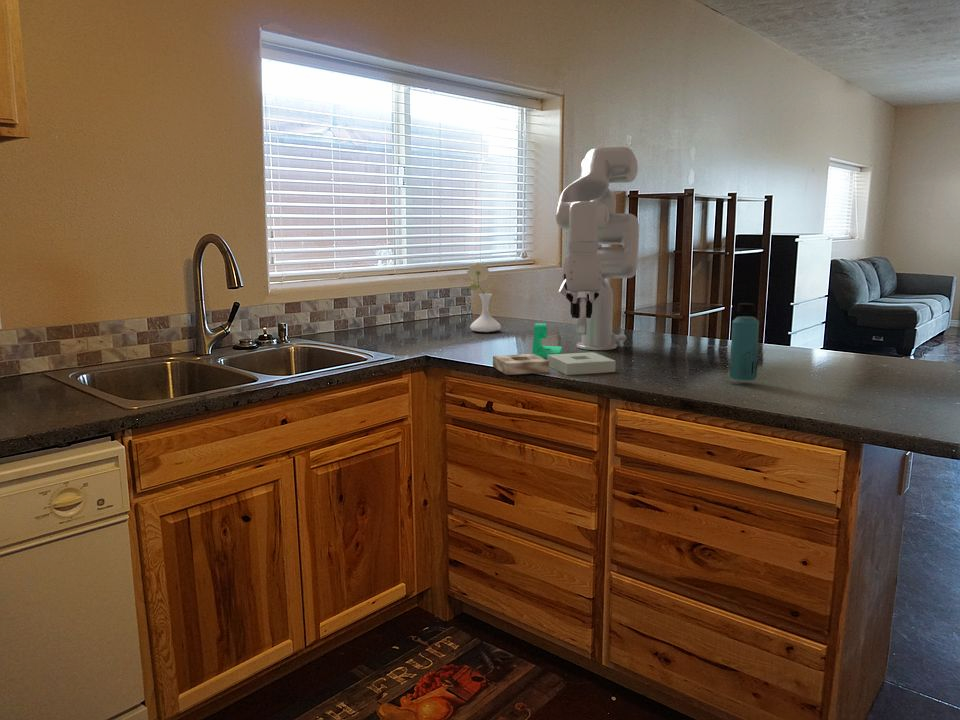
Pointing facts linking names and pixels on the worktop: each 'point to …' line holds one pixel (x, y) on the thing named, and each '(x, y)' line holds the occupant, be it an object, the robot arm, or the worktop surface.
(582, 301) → the steel pin
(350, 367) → the worktop surface
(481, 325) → the flower in vase
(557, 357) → the dock block
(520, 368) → the block
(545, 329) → the camera mount
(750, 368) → the beverage bottle
